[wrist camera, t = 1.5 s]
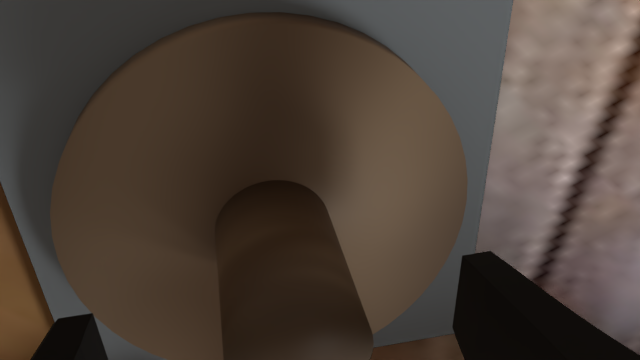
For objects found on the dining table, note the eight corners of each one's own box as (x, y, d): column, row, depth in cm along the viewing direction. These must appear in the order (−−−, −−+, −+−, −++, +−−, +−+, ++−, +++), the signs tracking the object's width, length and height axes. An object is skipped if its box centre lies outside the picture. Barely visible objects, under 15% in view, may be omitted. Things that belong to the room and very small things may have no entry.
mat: (508, -61, 13) (521, -56, 12) (455, 319, 19) (462, 331, 19) (-64, -23, 11) (-76, -16, 11) (86, 381, 17) (84, 398, 17)
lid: (471, -7, 13) (609, 72, 9) (437, 314, 18) (512, 460, 14) (-2, 34, 11) (-114, 153, 7) (111, 370, 17) (86, 552, 12)
